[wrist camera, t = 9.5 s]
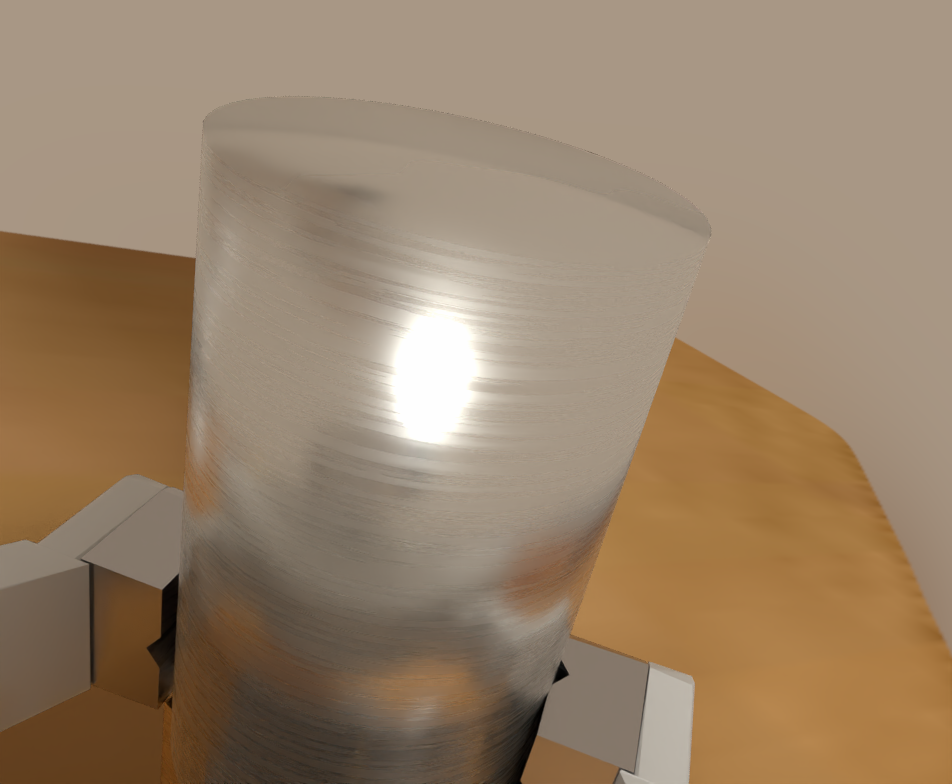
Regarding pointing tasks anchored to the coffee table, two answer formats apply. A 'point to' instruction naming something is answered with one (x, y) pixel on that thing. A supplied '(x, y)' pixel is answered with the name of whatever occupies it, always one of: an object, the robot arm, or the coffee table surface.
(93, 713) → the coffee table surface
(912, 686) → the coffee table surface
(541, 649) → the coupler
